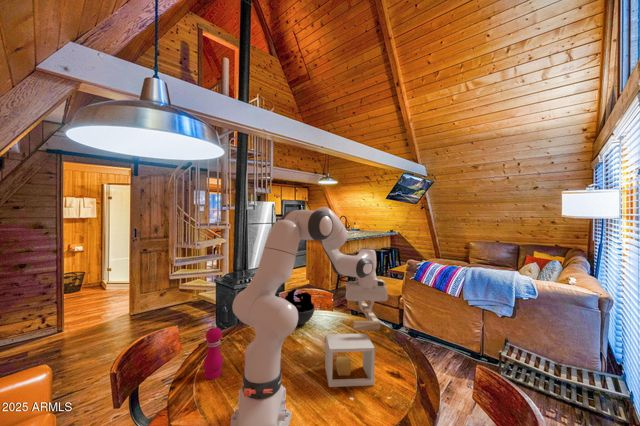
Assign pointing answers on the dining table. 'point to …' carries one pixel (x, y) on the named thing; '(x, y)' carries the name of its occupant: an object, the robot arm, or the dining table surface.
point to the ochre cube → (343, 365)
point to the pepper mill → (213, 354)
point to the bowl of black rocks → (301, 306)
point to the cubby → (350, 345)
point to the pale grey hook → (373, 321)
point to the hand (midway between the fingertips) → (366, 309)
